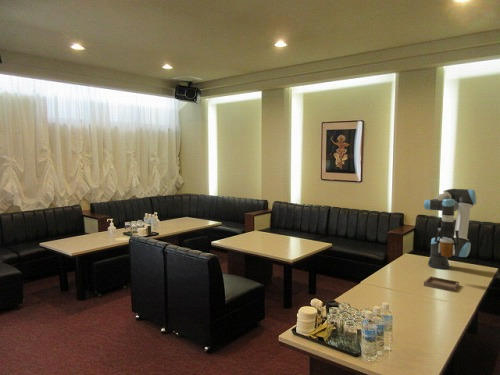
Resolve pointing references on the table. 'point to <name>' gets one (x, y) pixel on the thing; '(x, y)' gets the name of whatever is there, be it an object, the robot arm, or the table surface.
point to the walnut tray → (441, 284)
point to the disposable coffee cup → (446, 246)
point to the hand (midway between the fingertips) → (446, 253)
